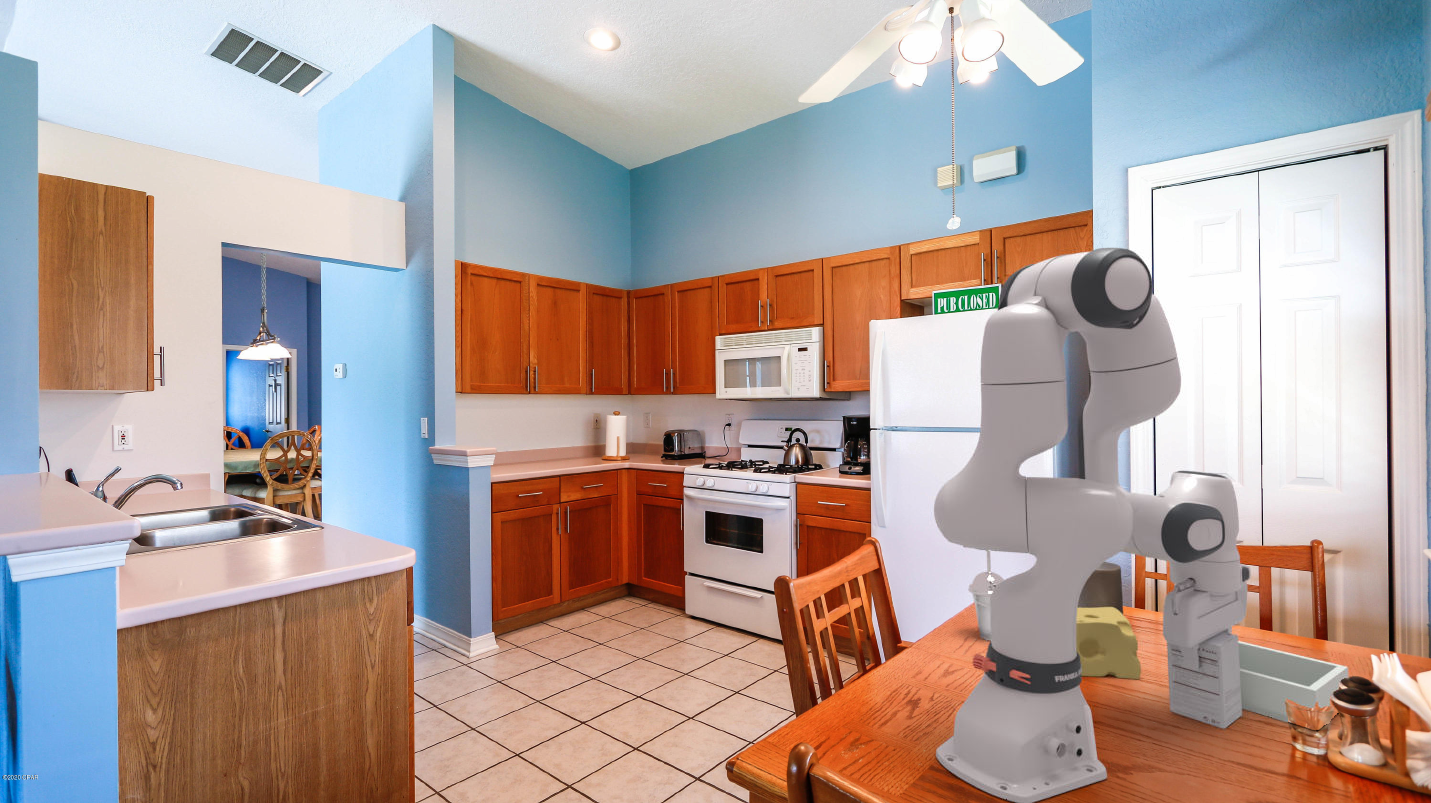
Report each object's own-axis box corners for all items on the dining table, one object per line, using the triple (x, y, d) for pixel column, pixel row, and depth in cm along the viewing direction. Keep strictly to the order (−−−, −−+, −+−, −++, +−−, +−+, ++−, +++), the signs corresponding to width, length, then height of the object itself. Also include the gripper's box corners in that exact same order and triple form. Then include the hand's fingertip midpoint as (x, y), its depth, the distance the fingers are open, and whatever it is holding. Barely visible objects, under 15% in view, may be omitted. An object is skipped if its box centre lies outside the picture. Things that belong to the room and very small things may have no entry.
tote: (1317, 731, 93) (1315, 690, 93) (1197, 694, 106) (1196, 658, 106) (1349, 704, 101) (1348, 666, 101) (1234, 673, 114) (1233, 639, 114)
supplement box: (1188, 698, 104) (1185, 622, 105) (1244, 716, 98) (1240, 634, 98) (1168, 711, 100) (1164, 631, 101) (1224, 730, 94) (1220, 645, 94)
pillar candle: (1135, 632, 135) (1132, 561, 136) (1097, 636, 133) (1093, 565, 134) (1099, 618, 145) (1095, 553, 145) (1062, 622, 143) (1059, 556, 143)
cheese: (1141, 680, 112) (1139, 623, 112) (1075, 677, 114) (1073, 621, 114) (1116, 657, 122) (1114, 606, 122) (1056, 655, 124) (1054, 604, 124)
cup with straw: (1013, 646, 129) (1009, 548, 129) (965, 640, 133) (962, 545, 133) (1013, 632, 137) (1009, 540, 137) (968, 627, 141) (965, 538, 141)
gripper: (1197, 590, 91) (1200, 685, 91) (1255, 566, 102) (1257, 651, 102) (1149, 580, 96) (1151, 670, 97) (1208, 558, 107) (1211, 639, 107)
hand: (1206, 660), depth 99 cm, fingers open, 8 cm apart
